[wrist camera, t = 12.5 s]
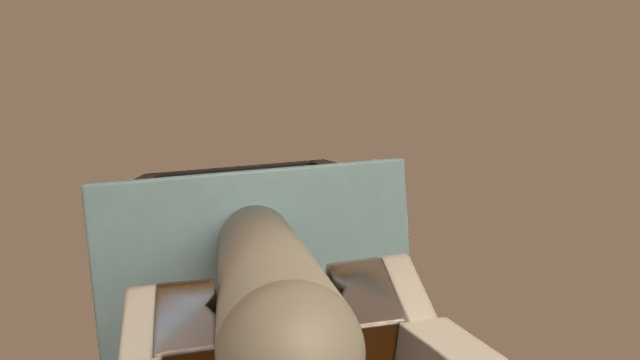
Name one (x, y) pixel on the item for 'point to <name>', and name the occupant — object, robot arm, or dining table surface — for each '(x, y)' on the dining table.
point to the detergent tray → (198, 206)
